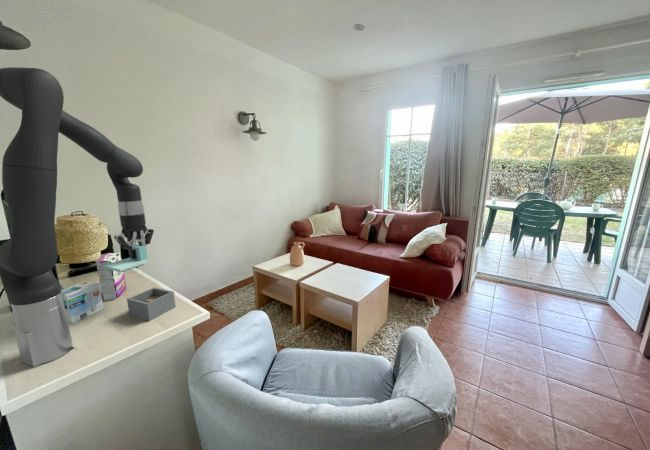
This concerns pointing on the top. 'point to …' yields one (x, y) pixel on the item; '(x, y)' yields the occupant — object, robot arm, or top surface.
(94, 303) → the light bulb box
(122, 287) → the candy bar box
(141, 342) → the top surface
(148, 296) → the tub
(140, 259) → the lid
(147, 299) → the wood block
